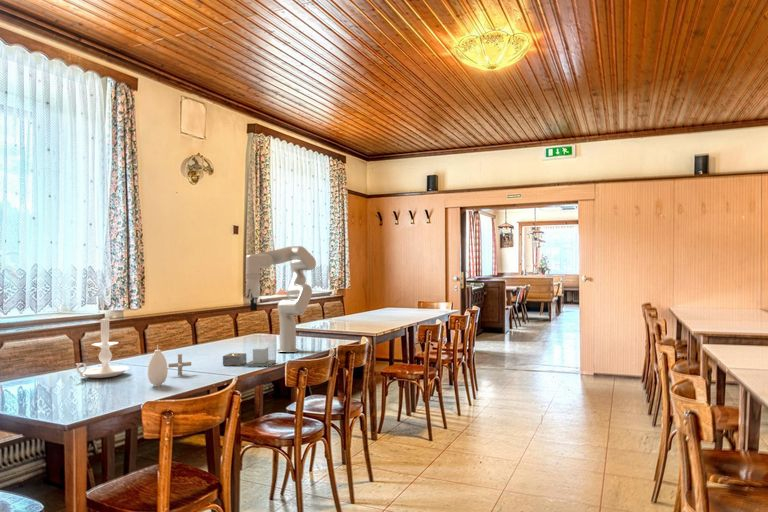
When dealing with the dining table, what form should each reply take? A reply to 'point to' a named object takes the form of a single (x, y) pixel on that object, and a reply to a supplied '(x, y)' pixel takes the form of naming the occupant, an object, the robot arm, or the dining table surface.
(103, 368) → the candlestick
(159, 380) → the egg shaped candle
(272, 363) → the press bed
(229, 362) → the block
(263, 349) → the block
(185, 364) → the pipe connector
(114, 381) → the dining table surface
